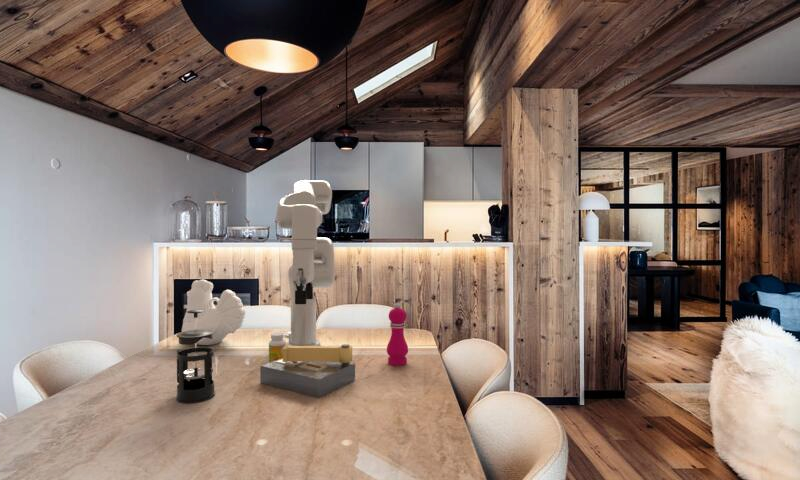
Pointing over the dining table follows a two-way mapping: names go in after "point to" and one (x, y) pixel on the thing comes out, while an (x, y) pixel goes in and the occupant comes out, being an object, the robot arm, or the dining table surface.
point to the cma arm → (318, 353)
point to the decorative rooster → (213, 312)
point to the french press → (196, 380)
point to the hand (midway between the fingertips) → (304, 301)
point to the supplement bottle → (276, 347)
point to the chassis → (307, 376)
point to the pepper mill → (397, 337)
